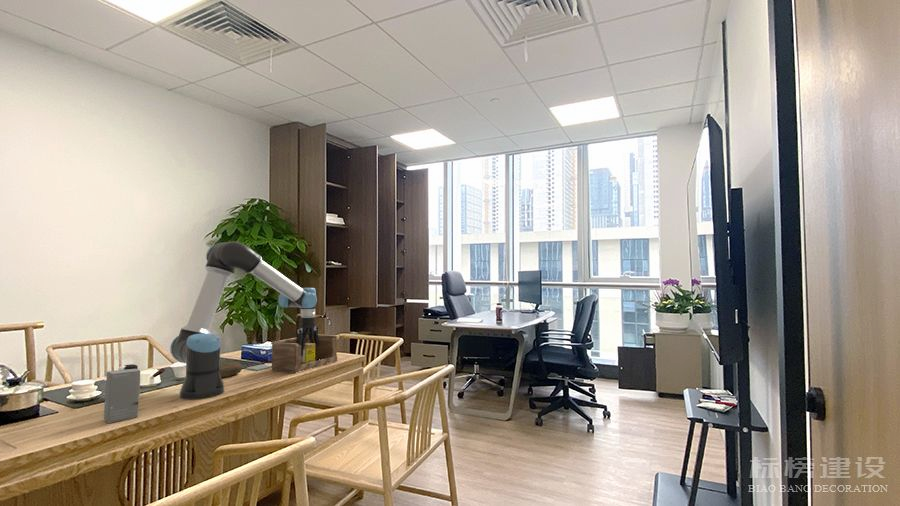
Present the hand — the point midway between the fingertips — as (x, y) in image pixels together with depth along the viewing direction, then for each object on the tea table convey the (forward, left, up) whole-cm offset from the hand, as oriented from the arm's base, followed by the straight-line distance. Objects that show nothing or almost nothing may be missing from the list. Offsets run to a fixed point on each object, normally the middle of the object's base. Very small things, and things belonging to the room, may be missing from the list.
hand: (307, 360), depth 217 cm
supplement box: (0, 0, -2) cm, 2 cm away
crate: (-1, 0, -2) cm, 3 cm away
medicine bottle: (-75, -7, -3) cm, 76 cm away
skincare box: (-78, -38, -3) cm, 87 cm away
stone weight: (-39, +1, -3) cm, 39 cm away
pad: (-21, +9, -2) cm, 23 cm away
